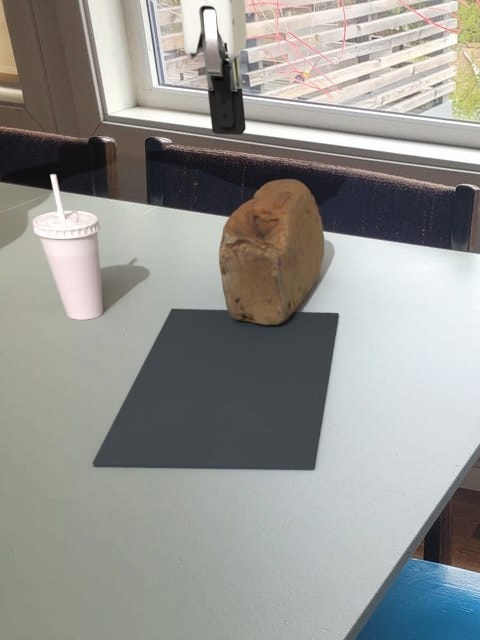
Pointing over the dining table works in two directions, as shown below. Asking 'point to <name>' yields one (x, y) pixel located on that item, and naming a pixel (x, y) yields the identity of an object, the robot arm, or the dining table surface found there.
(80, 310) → the smoothie
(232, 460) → the mat
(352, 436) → the dining table surface
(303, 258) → the block
